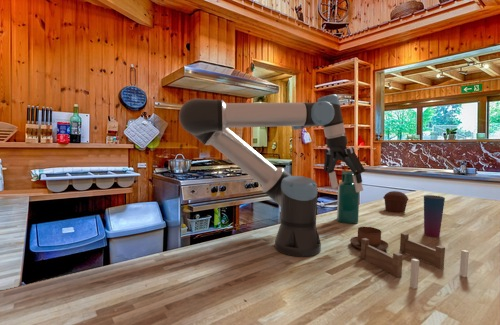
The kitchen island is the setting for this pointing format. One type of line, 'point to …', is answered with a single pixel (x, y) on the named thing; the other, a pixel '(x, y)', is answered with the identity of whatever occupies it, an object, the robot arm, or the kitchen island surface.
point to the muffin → (395, 201)
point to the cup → (433, 215)
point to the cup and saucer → (370, 234)
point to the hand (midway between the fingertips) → (346, 189)
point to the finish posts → (416, 268)
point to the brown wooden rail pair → (406, 246)
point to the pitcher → (347, 199)
